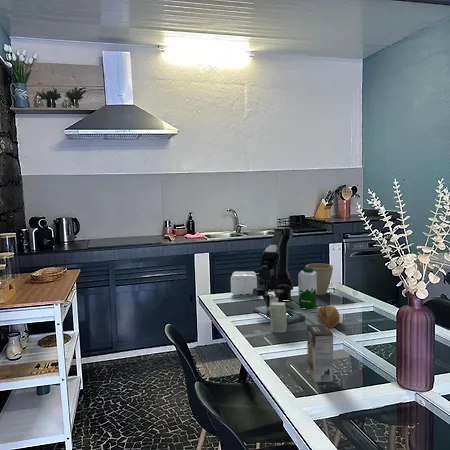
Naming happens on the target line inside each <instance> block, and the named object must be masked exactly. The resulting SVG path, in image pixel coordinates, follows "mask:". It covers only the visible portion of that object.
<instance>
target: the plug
mask: <svg viewBox="0 0 450 450" xmlns="http://www.w3.org/2000/svg"><path fill="white" fill-rule="evenodd" d="M272 302H278V298H276V297H275V295H270V300H269V308H267V306H266V305H265V306H266V309H267V310H268V311H270V304H271V303H272Z"/></svg>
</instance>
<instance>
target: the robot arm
mask: <svg viewBox="0 0 450 450" xmlns="http://www.w3.org/2000/svg"><path fill="white" fill-rule="evenodd" d="M273 231H274V232H273V233H274V234H273V236H272V239H271V241H270V243H269V246H267V247H266V248H265V250H263V253H262V257H261V261H260V266H262V268H261V269H260V270H259V272H258V277H259V278H257V288H254V289H253V294H252V295H254V296H256V297H262V298H263V300H264V303H265V306H267V308H269V300H270V296H271V295H269V293H271V292H274V296H275V297H276V298H278V302H281V301H283V300H290V301H289V302H291V301H293V298H292V291H293V290H294V283H293V281H292V278H291V274H290V272H289V271H288V270H289V244H290V243H291V240H292V239H293V234H294V230H293V229H292V228H291V227H289V226H288V227H287V226H279V227H275V228H274V230H273Z"/></svg>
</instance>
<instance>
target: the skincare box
mask: <svg viewBox="0 0 450 450" xmlns="http://www.w3.org/2000/svg"><path fill="white" fill-rule="evenodd" d="M286 308H287V303H286V302H281V301H279V302H272V303H271V304H270V315H271V320H270V329H271V331H270V332H272V333H287V330H288V323H287V319H286V318H287V316H286Z"/></svg>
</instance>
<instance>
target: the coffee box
mask: <svg viewBox="0 0 450 450" xmlns="http://www.w3.org/2000/svg"><path fill="white" fill-rule="evenodd" d="M306 336H307V339H306V340H307V341H306V342H307V343H306V344H307V346H306V347H307V371H308V373H309V374H310V376H311V378H312V380H313V382H314V383H327V382H329V383H330V382H334V333H333V332H332V331H331V330H330V329H329V327H327V326H326V325H325V324H322V323H321V324H318V323H316V324H306Z"/></svg>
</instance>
